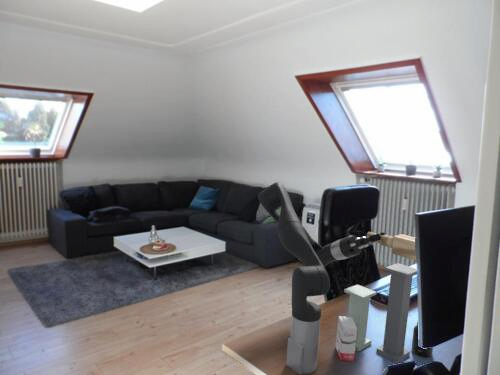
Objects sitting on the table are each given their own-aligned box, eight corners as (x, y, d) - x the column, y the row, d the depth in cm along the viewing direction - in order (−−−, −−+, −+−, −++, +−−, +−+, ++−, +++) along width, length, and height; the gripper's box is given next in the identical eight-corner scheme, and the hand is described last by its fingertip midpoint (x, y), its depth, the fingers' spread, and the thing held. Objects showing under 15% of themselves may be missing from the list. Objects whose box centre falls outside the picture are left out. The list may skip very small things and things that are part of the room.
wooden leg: (414, 260, 125) (416, 242, 124) (363, 244, 140) (365, 228, 139) (422, 257, 129) (424, 239, 128) (371, 242, 143) (373, 226, 142)
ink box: (354, 361, 131) (357, 328, 129) (339, 360, 131) (342, 327, 129) (349, 347, 139) (352, 316, 137) (335, 346, 139) (337, 315, 137)
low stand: (358, 351, 136) (363, 297, 133) (339, 341, 142) (344, 289, 139) (371, 344, 142) (376, 292, 139) (352, 334, 148) (357, 284, 145)
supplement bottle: (414, 345, 143) (418, 314, 141) (434, 352, 138) (438, 320, 136) (408, 352, 137) (412, 320, 135) (429, 360, 133) (433, 327, 131)
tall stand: (397, 363, 131) (407, 274, 126) (376, 352, 137) (385, 267, 132) (409, 355, 136) (419, 270, 131) (388, 344, 142) (397, 263, 137)
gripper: (330, 241, 145) (367, 227, 133) (353, 236, 154) (389, 223, 142) (337, 260, 144) (375, 249, 131) (359, 254, 153) (397, 242, 140)
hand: (382, 235), depth 137 cm, fingers closed on wooden leg, 3 cm apart
